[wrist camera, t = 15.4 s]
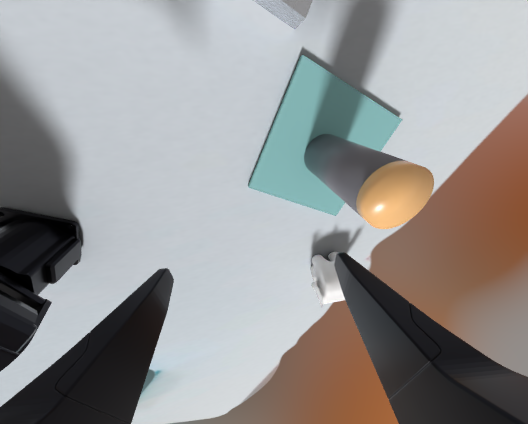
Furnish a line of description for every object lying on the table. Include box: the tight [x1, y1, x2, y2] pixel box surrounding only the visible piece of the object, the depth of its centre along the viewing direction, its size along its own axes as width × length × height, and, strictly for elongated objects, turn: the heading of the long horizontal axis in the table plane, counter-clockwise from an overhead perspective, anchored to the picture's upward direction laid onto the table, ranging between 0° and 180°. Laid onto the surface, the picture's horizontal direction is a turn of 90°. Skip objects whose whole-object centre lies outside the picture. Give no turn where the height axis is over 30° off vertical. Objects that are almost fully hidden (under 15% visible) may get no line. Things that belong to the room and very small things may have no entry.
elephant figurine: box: [311, 252, 345, 307], centre depth 29 cm, size 8×10×7 cm
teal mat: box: [248, 55, 402, 216], centre depth 21 cm, size 13×13×1 cm
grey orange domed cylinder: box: [304, 134, 434, 229], centre depth 16 cm, size 4×4×11 cm
